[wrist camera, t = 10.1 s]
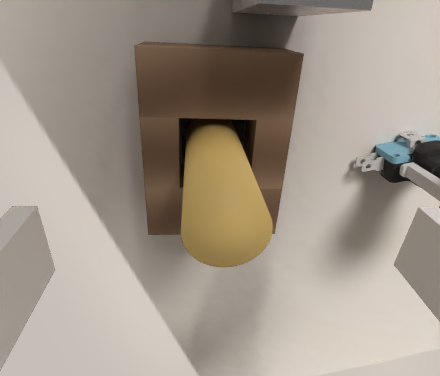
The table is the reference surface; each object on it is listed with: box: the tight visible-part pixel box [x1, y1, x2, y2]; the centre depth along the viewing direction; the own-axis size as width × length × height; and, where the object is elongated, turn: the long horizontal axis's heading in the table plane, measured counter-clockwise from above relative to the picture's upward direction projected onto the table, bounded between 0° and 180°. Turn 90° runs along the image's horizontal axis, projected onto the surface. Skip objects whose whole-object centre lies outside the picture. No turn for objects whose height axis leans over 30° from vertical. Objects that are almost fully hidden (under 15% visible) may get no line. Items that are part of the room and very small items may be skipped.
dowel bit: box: [181, 118, 273, 267], centre depth 17 cm, size 4×4×12 cm
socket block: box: [134, 42, 304, 235], centre depth 21 cm, size 12×9×4 cm
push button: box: [356, 132, 440, 208], centre depth 20 cm, size 7×5×10 cm
